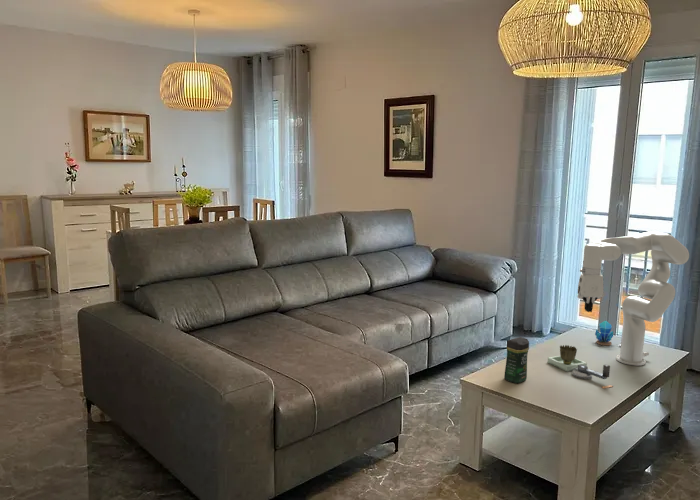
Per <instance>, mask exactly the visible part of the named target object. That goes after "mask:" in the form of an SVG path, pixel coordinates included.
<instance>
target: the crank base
mask: <svg viewBox="0 0 700 500" xmlns="http://www.w3.org/2000/svg"><path fill="white" fill-rule="evenodd" d="M571 372H572V376H573V377H575V378H577V379H580V380H589V379H592V377H593V375H591V374H588V373H585V372H580V371H578V368H574V369H573V371H571Z"/></svg>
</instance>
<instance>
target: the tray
mask: <svg viewBox="0 0 700 500" xmlns="http://www.w3.org/2000/svg"><path fill="white" fill-rule="evenodd" d="M571 362H572V363H571V364H570V365H566V364H564V363H563V360H562V359H561V356H560V355H555V356H551V357H547V363H548V364H549V365H552V366H554V367H556V368H558V369H560V370H563V371H565V372H573V369H574V368H578V365H585V366H587V367H588V363H587V362H585V361H584V360H582V359H579V358H576V357H575V359H574V360H573V361H571Z"/></svg>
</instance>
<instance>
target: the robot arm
mask: <svg viewBox="0 0 700 500" xmlns="http://www.w3.org/2000/svg"><path fill="white" fill-rule="evenodd" d="M648 251H650V255H651V261H652V263H651V269H650V270H649V272H648V273H647V275H645V277H644V278H643V280H642V281H641V283H640V284H639V286H638V289H637V292H638V295H639V296H636V295H629V296H627V297H625V299H624V300H623V301H622V305H621V306H622V307H621V309H622V329H621V340H620V349H619V350H620V351H619V354H617V355H616V356H615V359H616V361H617V362H619V363H620V364H621V363H622V364H623V365H624V364H625V365H629V366H639V367H641V366H644V365H646V362H647V361H646V359H645V357H649V355H650V353H649V351H644V345H645V335H646V323H645V322H650V323H653V322H657V321H658V320H660V319H661V317H662V316H663V314H664V313H665V312H666V311H667V309H668V308H669V307H670V305H671V304H672V302H673V301H674V299H675V297H676V289H675V286H674V285H673V284H671V283H670V282H668V280H670V278H671V268H670V265H669V264H672V265H678V266H680V265H684V264H686V263H687V262H688V261H689V258H690V253H689V249H688V248H687V247H686V246H685V245H684V244H682V243H681V242H680V241H679V240H678V239H677V238H675V237H674V236H673V235H671V234H669V233H667V232H661V231H660V232H659V231H652V230H651V231H646V232H642V233H637V234H634V235H633V234H632V235H628V236H627V235H626V236H619V237H618V236H617V237H608V238H603V239H598V240H595V241H593V242H592V243H587V244H585V245H584V249H583V259H582V267H581V268H580V270H579V272H580V276H579V280H578V285H577V299H580V300H582V301H583V302H584V311H585V312H588V313H589V312H590V313H592V312H593V310H594V309H593V308H594V304H595V302H596V301H597V300H601V299H602V297H603V296H604V278H603V274H602V262H603V261H608V262H609V261H611V262H612V261H616V260H618V259H619V258H620V257H621V255H636V254H641V253H643V252H648ZM640 296H641V297H640Z"/></svg>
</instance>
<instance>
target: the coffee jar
mask: <svg viewBox="0 0 700 500" xmlns="http://www.w3.org/2000/svg"><path fill="white" fill-rule="evenodd" d="M506 342H507V343H506V360H505V369H504V376H503V377H504V379H505V380H506V382H507V381H508V382H510V383H515V384H519V383H522V382H525V381H526V380H527V378H528V353H529V351H530V350H529V349H530V341H529V339H528V338H525V337H523V336H518V337H515V338H511V339H508V340H507V341H506Z"/></svg>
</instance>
